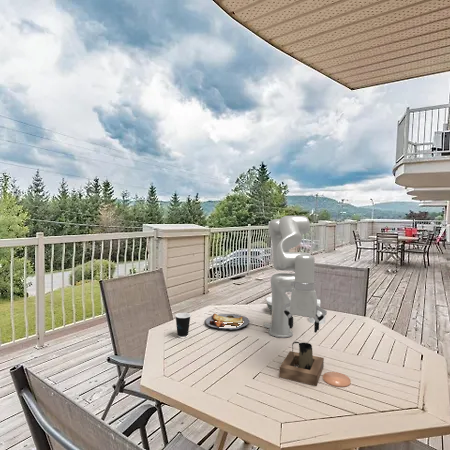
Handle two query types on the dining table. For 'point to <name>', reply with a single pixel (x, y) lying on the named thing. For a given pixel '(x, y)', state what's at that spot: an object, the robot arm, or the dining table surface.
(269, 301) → the bowl
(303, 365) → the mug
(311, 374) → the frame
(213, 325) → the food plate
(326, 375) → the peach smooth round part
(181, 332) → the dixie cup
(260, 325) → the dining table surface
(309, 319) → the cylinder with rectangular tab
